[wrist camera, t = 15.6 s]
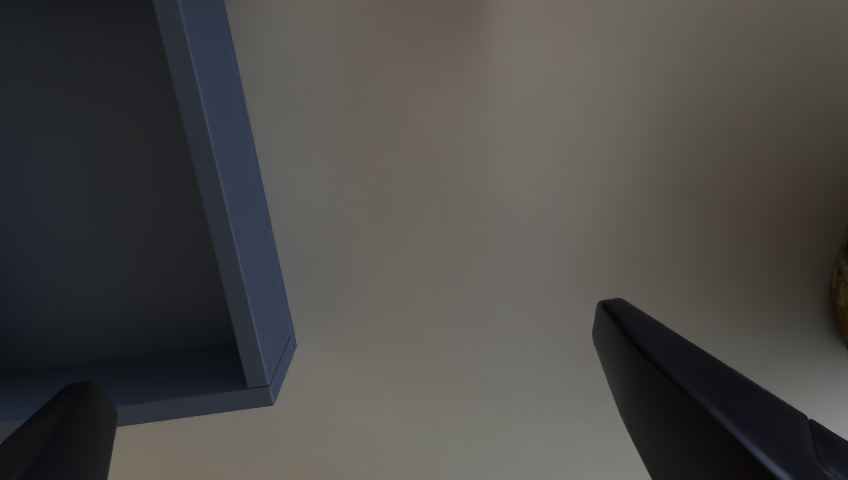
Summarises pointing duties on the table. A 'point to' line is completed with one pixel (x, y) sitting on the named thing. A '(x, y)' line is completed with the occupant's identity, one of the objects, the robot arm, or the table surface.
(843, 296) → the pottery vessel
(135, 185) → the bin
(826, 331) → the table surface
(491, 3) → the table surface
